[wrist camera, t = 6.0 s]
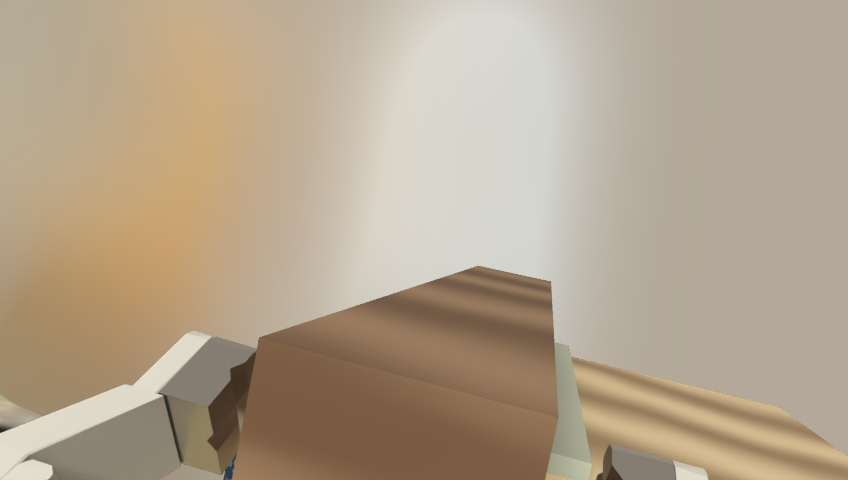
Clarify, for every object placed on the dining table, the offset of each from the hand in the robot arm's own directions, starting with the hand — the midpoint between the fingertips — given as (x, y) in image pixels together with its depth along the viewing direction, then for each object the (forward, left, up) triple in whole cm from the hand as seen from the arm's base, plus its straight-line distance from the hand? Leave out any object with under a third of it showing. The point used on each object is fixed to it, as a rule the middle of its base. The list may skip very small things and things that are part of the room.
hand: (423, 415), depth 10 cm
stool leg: (-5, +9, -2) cm, 10 cm away
